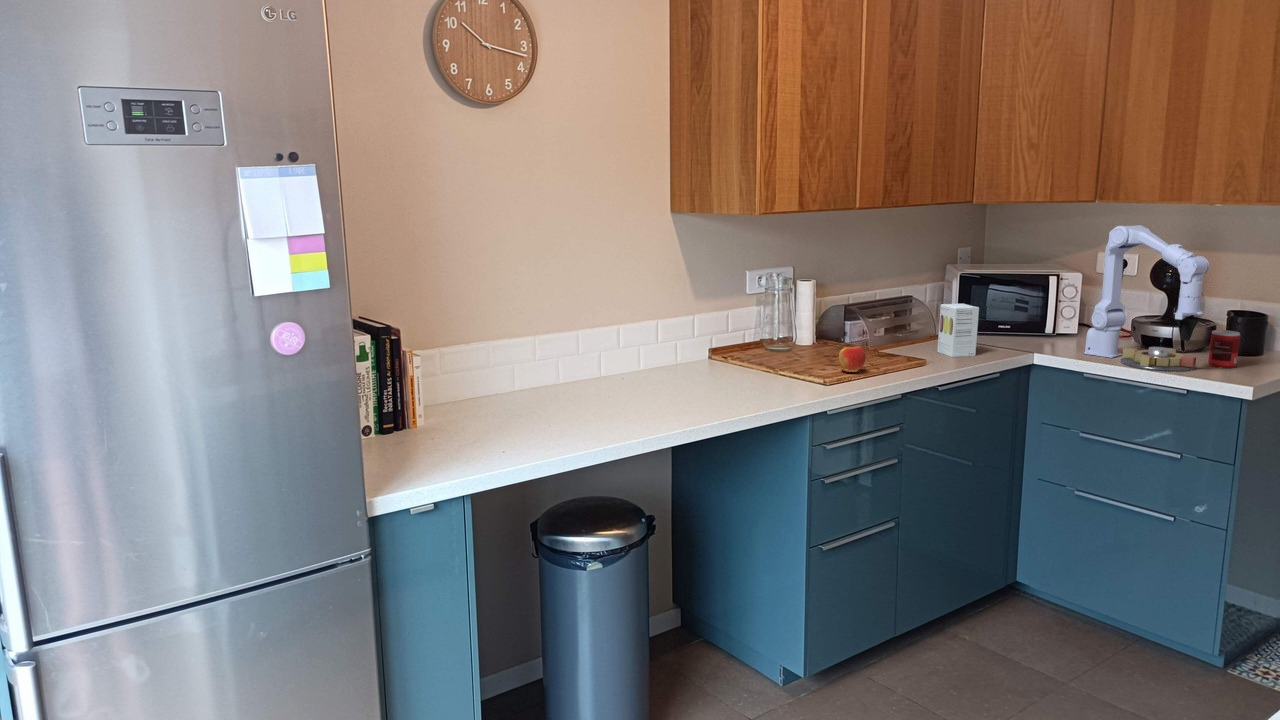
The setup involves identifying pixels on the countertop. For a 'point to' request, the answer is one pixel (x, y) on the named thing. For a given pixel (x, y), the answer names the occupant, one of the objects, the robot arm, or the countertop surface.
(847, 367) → the apple
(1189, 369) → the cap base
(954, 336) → the supplement box
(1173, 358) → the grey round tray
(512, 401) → the countertop surface
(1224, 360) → the canned food
